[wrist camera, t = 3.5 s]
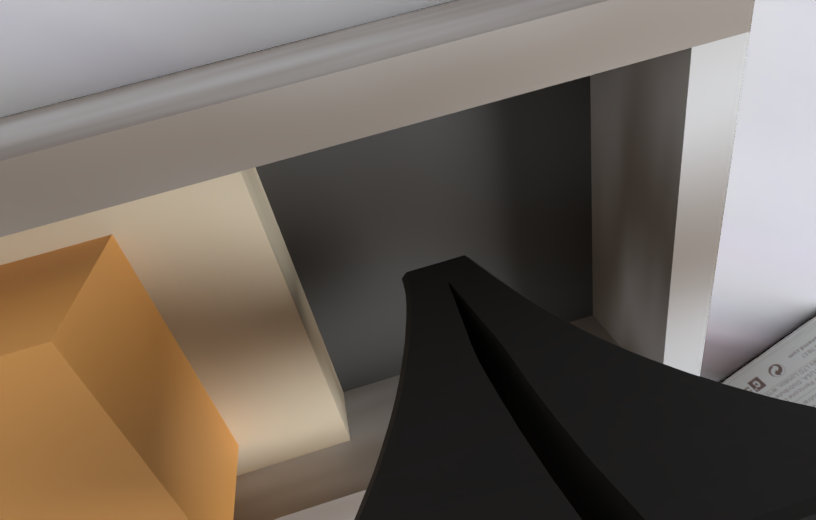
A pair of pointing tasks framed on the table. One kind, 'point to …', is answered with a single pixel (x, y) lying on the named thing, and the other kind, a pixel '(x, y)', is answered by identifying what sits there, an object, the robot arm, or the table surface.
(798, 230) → the table surface
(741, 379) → the small box
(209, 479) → the orange block
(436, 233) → the trap lane
